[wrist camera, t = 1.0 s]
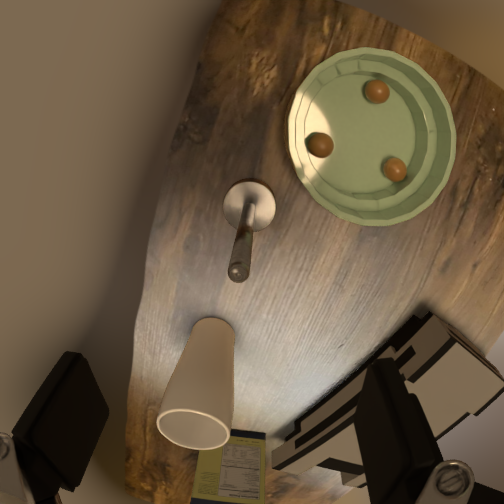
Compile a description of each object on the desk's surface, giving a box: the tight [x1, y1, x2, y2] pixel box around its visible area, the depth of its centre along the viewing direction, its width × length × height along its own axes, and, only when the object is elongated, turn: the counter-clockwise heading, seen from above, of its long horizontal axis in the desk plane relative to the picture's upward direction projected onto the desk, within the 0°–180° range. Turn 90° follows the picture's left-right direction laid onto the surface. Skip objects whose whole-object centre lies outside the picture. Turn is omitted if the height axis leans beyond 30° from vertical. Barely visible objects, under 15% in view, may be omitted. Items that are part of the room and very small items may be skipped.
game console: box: [272, 311, 504, 488], centre depth 39 cm, size 21×32×8 cm, turn 146°
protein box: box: [190, 430, 265, 504], centre depth 42 cm, size 10×16×16 cm
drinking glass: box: [157, 318, 235, 450], centre depth 31 cm, size 7×7×15 cm
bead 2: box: [365, 79, 390, 104], centre depth 25 cm, size 2×2×2 cm
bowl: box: [284, 47, 456, 226], centre depth 26 cm, size 15×15×6 cm
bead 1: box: [308, 133, 334, 158], centre depth 28 cm, size 2×2×2 cm
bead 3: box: [383, 158, 407, 182], centre depth 28 cm, size 2×2×2 cm
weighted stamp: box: [223, 178, 276, 283], centre depth 24 cm, size 5×5×16 cm
